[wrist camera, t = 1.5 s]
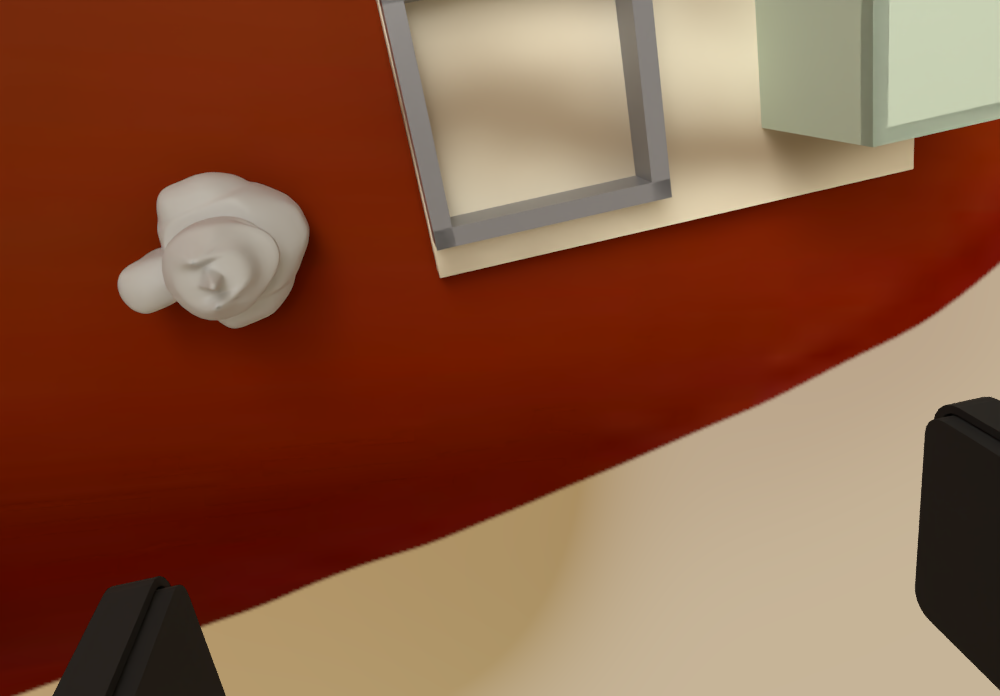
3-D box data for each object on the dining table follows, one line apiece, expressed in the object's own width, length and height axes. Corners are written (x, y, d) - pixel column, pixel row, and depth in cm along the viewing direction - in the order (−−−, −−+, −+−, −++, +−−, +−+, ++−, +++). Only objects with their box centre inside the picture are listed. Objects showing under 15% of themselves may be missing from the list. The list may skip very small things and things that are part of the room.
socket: (375, -15, 26) (376, -19, 24) (627, -64, 27) (645, -72, 25) (432, 239, 29) (437, 250, 27) (654, 189, 30) (672, 197, 28)
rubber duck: (339, 269, 30) (331, 338, 23) (183, 334, 30) (125, 424, 23) (275, 138, 28) (245, 167, 21) (108, 206, 28) (17, 259, 21)
